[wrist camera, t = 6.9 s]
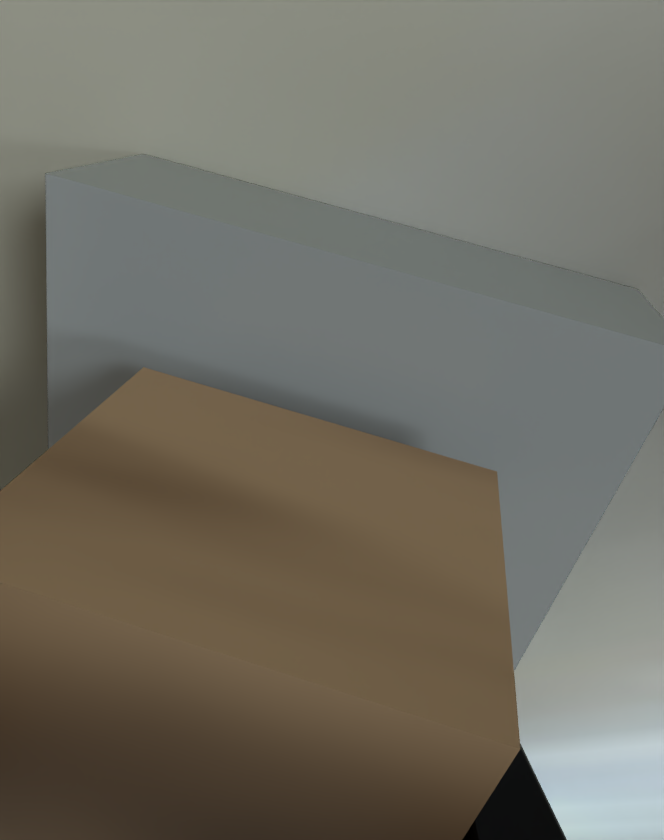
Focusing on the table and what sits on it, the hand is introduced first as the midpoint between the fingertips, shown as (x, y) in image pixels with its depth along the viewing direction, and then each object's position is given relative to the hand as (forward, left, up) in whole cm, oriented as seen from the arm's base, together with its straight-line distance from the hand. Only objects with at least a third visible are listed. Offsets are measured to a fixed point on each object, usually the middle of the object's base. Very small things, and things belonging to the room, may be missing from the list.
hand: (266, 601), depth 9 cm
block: (0, 0, -1) cm, 1 cm away
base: (0, 0, -5) cm, 5 cm away
